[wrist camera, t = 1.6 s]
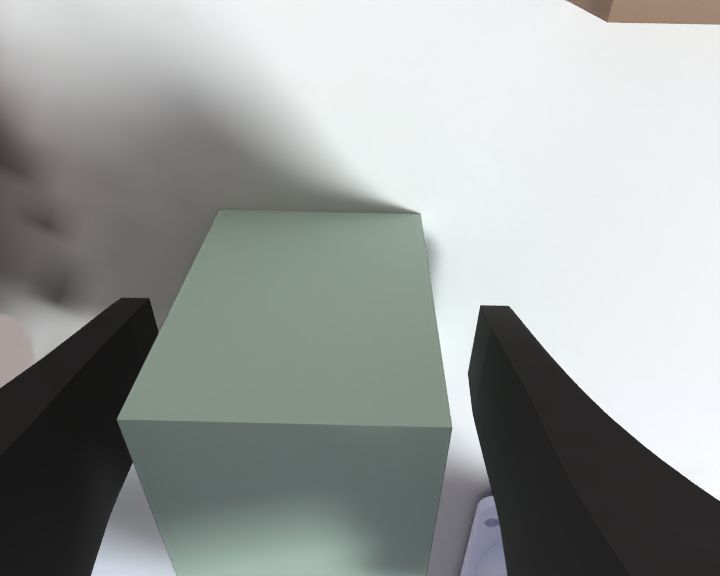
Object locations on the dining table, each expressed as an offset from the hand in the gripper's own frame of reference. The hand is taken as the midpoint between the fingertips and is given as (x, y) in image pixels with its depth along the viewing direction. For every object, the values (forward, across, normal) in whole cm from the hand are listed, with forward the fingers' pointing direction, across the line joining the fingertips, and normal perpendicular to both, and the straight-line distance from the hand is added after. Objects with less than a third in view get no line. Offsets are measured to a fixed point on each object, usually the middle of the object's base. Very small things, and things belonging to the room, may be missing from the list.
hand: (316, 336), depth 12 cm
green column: (+2, 0, 0) cm, 2 cm away
